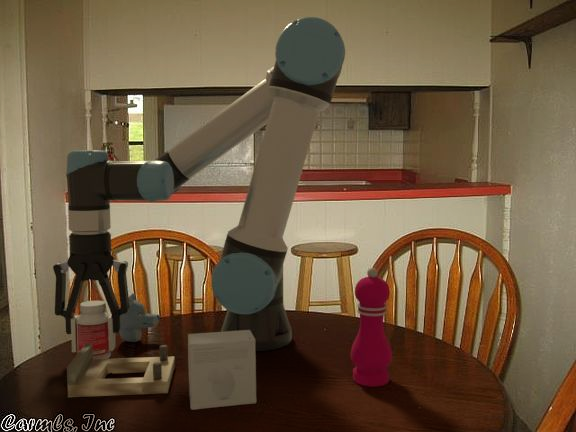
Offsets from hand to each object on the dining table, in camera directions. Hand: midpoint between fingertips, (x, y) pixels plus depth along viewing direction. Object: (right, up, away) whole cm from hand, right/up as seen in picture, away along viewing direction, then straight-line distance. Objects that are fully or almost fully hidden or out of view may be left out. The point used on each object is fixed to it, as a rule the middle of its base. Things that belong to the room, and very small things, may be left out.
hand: (94, 349), depth 108 cm
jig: (+9, -3, -11) cm, 15 cm away
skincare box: (+27, -4, -18) cm, 33 cm away
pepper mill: (+52, -3, -10) cm, 53 cm away
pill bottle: (0, -2, 0) cm, 2 cm away
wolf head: (+6, -1, +11) cm, 12 cm away
